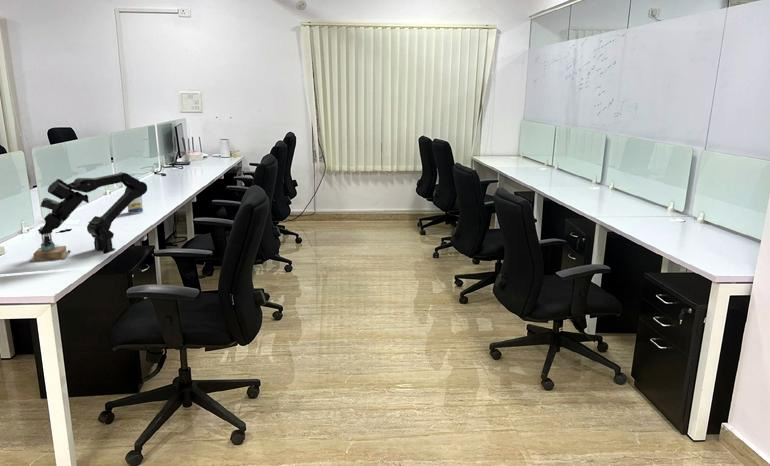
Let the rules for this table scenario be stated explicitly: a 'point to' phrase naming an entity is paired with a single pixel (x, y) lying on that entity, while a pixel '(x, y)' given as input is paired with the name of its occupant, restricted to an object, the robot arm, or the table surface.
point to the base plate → (54, 259)
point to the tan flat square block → (50, 254)
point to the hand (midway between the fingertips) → (43, 231)
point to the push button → (47, 241)
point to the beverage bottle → (135, 206)
